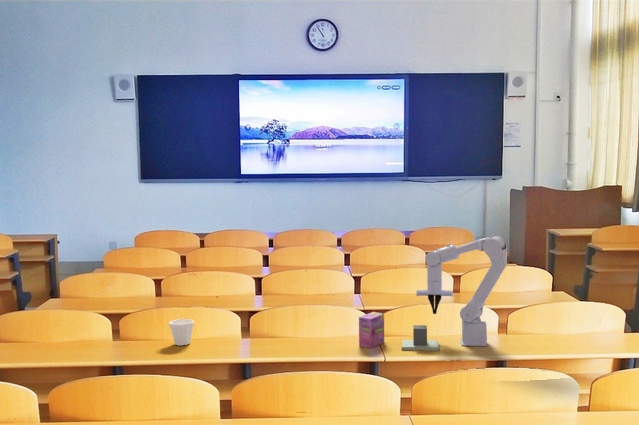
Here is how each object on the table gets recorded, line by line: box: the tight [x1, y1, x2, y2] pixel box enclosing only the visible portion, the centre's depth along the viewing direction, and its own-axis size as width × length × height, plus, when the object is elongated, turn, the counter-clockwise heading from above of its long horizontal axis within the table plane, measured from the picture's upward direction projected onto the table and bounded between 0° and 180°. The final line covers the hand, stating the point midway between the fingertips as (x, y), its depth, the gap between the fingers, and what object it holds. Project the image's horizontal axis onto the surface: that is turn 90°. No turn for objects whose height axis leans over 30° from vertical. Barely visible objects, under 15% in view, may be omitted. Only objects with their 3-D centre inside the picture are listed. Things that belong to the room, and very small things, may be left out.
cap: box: [412, 324, 428, 346], centre depth 244 cm, size 5×5×7 cm
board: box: [401, 339, 440, 352], centre depth 245 cm, size 14×10×1 cm
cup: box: [168, 318, 195, 347], centre depth 255 cm, size 10×10×9 cm
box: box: [358, 311, 385, 349], centre depth 249 cm, size 10×6×12 cm, turn 143°
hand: (434, 313), depth 255 cm, fingers closed
